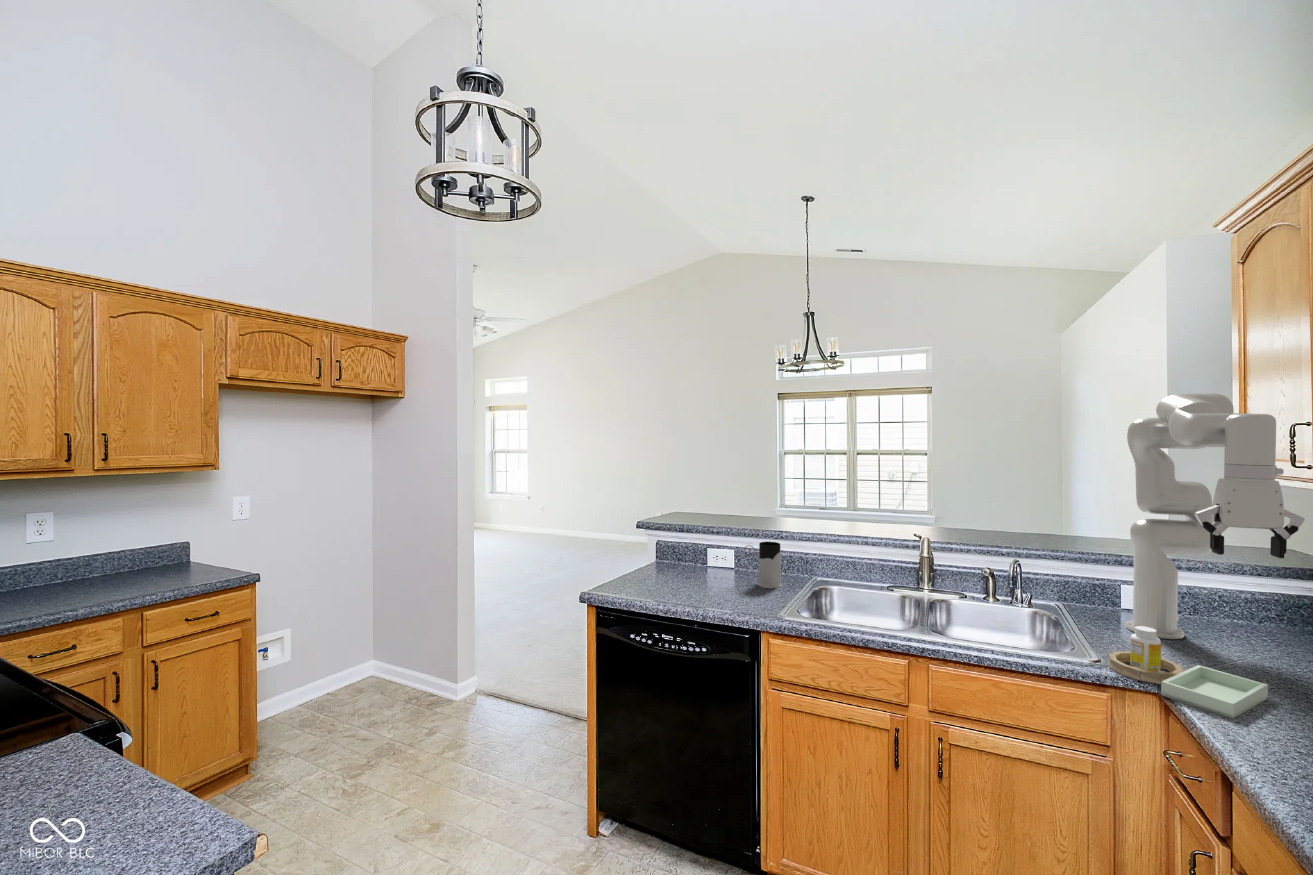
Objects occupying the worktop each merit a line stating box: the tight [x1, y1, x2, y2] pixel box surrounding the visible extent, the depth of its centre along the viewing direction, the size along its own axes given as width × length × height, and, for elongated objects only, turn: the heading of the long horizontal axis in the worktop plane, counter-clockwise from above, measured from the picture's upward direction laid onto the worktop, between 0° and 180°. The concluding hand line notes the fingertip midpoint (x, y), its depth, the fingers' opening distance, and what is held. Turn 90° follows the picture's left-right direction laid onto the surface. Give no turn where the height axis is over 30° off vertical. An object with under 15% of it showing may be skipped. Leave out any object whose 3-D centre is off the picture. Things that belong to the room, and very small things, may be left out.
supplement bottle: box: [1129, 626, 1162, 672], centre depth 140 cm, size 6×6×10 cm
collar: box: [1108, 650, 1185, 685], centre depth 140 cm, size 13×13×2 cm
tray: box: [1160, 664, 1269, 720], centre depth 127 cm, size 18×12×3 cm, turn 119°
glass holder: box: [743, 541, 783, 589], centre depth 216 cm, size 9×14×15 cm, turn 64°
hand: (1247, 555), depth 124 cm, fingers open, 9 cm apart
